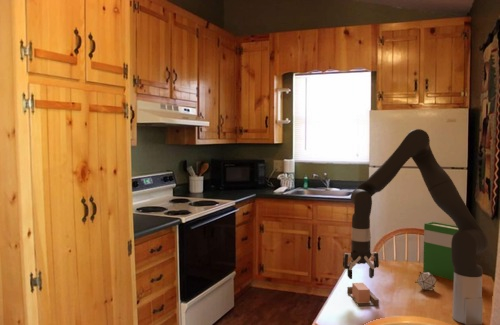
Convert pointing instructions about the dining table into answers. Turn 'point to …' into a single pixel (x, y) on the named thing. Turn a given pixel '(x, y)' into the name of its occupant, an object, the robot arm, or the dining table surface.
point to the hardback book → (438, 249)
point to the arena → (373, 302)
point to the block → (361, 292)
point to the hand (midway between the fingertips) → (360, 278)
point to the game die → (426, 281)
